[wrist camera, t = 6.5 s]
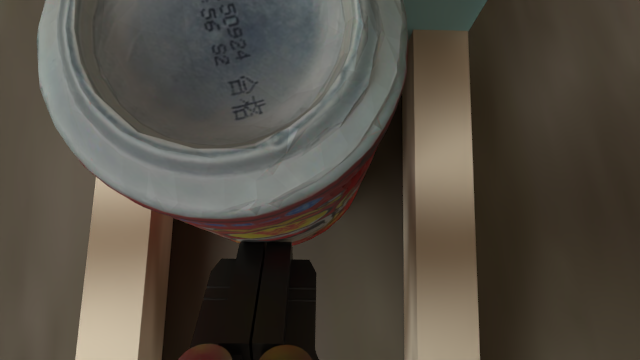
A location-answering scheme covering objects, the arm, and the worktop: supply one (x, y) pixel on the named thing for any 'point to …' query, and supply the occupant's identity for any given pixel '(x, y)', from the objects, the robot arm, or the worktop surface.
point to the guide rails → (418, 230)
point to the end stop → (441, 14)
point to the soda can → (226, 104)
